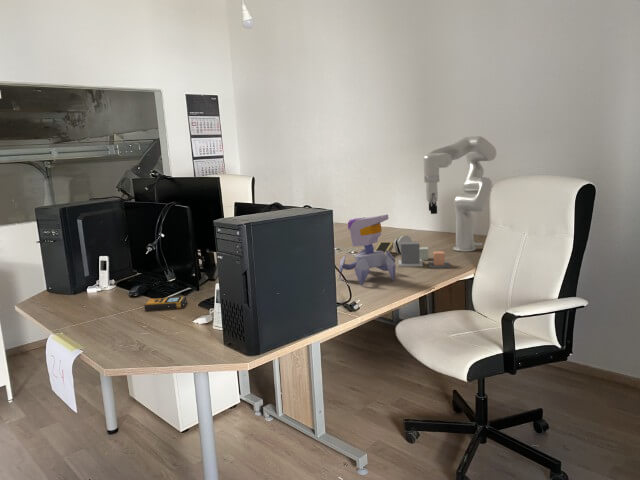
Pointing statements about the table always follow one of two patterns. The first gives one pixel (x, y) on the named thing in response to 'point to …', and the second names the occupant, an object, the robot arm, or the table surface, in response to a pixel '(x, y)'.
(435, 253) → the terracotta block
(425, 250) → the grey block
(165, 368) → the table surface
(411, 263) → the mounted unit
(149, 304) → the electronic device
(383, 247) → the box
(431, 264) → the mat
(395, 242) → the white curved block
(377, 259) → the robotic device
